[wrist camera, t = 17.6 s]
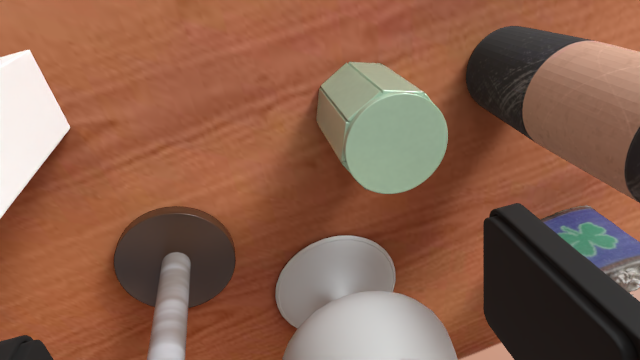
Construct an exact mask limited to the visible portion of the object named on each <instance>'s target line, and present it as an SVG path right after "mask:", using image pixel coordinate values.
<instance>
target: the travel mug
mask: <svg viewBox="0 0 640 360" xmlns="http://www.w3.org/2000/svg"><path fill="white" fill-rule="evenodd" d="M466 83H467V88H468V91H469V93H470V95H471V97H472V98H473V99H474V101H476V102H477V103H478V104H479V105H480V106H482V107H483V108H484V109H486V110H487V111H489V112H490V113H492V114H493V115H495V116H496V117H498V118H499V119H501V120H502V121H504V122H506V123H507V124H509V125H510V126H512V127H513V128H515V129H516V130H518V131H519V132H521V133H522V134H524V135H525V136H527V137H528V138H530V139H531V140H533V141H534V142H536V143H537V144H539V145H541V146H542V147H544V148H546V149H547V150H549V151H551V152H553V153H554V154H556V155H558V156H560V157H561V158H563V159H565V160H566V161H568V162H570V163H572V164H573V165H575V166H577V167H579V168H580V169H582V170H584V171H585V172H587V173H589V174H591V175H592V176H594V177H596V178H598V179H599V180H601V181H603V182H605V183H606V184H608V185H610V186H611V187H613V188H615V189H617V190H618V191H620V192H622V193H624V194H625V195H627V196H629V197H630V198H632V199H634V200H636V201H637V202H639V203H640V52H638V51H634V50H630V49H626V48H622V47H618V46H614V45H610V44H606V43H602V42H598V41H594V40H588V39H583V38H578V37H573V36H568V35H563V34H557V33H552V32H547V31H542V30H537V29H531V28H526V27H519V26H509V27H504V28H501V29H498V30H496V31H494V32H492V33H491V34H489V35H488V36H487V37H485V38H484V39H483V40H482V41H481V42H480V43H479V44H478V46H477V47H476V48H475V50H474V51H473V53H472V55H471V57H470V60H469V62H468V66H467V71H466Z"/></svg>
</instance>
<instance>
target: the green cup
mask: <svg viewBox="0 0 640 360" xmlns="http://www.w3.org/2000/svg"><path fill="white" fill-rule="evenodd" d="M316 121H317V124H318V126H319V127H320V129H321V130H322V132H323V134H324V135H325V137H326V139H327V140H328V142H329V144H330V145H331V147H332V149H333V150H334V152H335V154H336V155H337V157H338V158H339V160H340V162H341V163H342V165H343V166H344V167H345V168H346V169H347V170H348V171H349V172H350V173H351V175H352V176H353V177H354V179H355V180H356V181H357V182H358V183H359V184H360V185H362V186H363V187H364V188H365V189H367V190H370V191H373V192H376V193H382V194H396V193H401V192H405V191H408V190H410V189H412V188H415V187H416V186H418V185H420V184H421V183H423V182H424V181H425V180H426V179H428V178H429V177H430V176H431V175H432V174H433V173H434V171H435V170H436V169H437V167H438V166H439V164H440V163H441V161H442V159H443V157H444V154H445V151H446V148H447V142H448V130H447V124H446V121H445V119H444V116H443V114H442V113H441V111H440V110H439V109H438V107H437V106H436V105H435V104H434V103H432V101H431V100H430V98H429V97H428V96H427V94H426V93H425V92H423V91H422V90H420V89H419V88H417V87H416V86H414V85H413V84H411V83H410V82H408V81H407V80H405V79H404V78H402V77H401V76H399V75H398V74H397V73H395V72H394V71H392V70H391V69H389V68H388V67H386V66H385V65H383V64H381V63H362V62H349V64H348V63H346V64H345V65H343V66H342V67H341V68H340V69H339V70H338V71H337V72H336V73H334V74H333V75H332V76H331V77H330V78H329V79H328V80H326V81H325V82H324V83H323V84H322V85H321V88H319V96H318V106H317V117H316Z"/></svg>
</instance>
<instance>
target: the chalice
mask: <svg viewBox="0 0 640 360" xmlns="http://www.w3.org/2000/svg"><path fill="white" fill-rule="evenodd" d="M395 280H396V278H395V267H394V264H393V261H392V259H391V257H390V256H389V254H388V253H387V252H386V250H385V249H383V248H382V247H381V246H380V245H378V244H377V243H375V242H373V241H371V240H369V239H366V238H362V237H357V236H335V237H330V238H325V239H322V240H320V241H318V242H315V243H313V244H310V245H309V246H307V247H306V248H304V249H303V250H301V251H300V252H298V253H297V254H296V255H295V256H294V257H293V258H292V259H291V260H290V261H289V262H288V263H287V264H286V266H285V267H284V269H283V270H282V272H281V274H280V276H279V279H278V282H277V284H276V295H275V297H276V302H277V307H278V309H279V311H280V313H281V314H282V316H283V317H284V318H285V319H286V320H287V322H288V323H289V324H291V325H292V326H294V327H296V328H297V330H296V332H295V333H294V335H293V336H292V338H291V339H290V341H289V342H288V345H287V347H286V350H285V353H284V355H283V358H282V360H458V359H457V356H456V353H455V350H454V347H453V345H452V342H451V340H450V337H449V335H448V332H447V330H446V328H445V327H444V325H443V324H442V322H441V321H440V320H439V319H438V317H437V316H436V315H435V314H434V312H433V311H432V310H430V309H429V308H427V307H426V306H424V305H423V304H421V303H420V302H418V301H417V300H415V299H413V298H411V297H408V296H405V295H403V294H400V293H393V289H394V285H395Z"/></svg>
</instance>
